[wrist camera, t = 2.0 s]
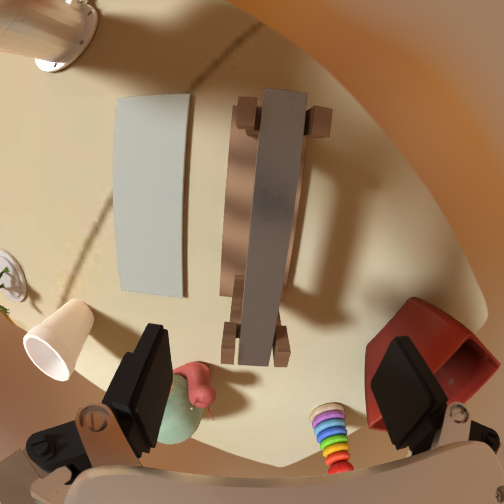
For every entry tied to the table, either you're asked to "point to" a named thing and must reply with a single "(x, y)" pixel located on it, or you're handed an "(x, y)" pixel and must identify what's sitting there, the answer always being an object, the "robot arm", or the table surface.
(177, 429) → the toy snail
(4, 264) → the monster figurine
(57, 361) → the foam cup
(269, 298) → the rail
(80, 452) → the robot arm
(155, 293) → the mat
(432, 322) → the plant pot
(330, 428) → the stacking toy
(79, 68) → the table surface
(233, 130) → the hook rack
